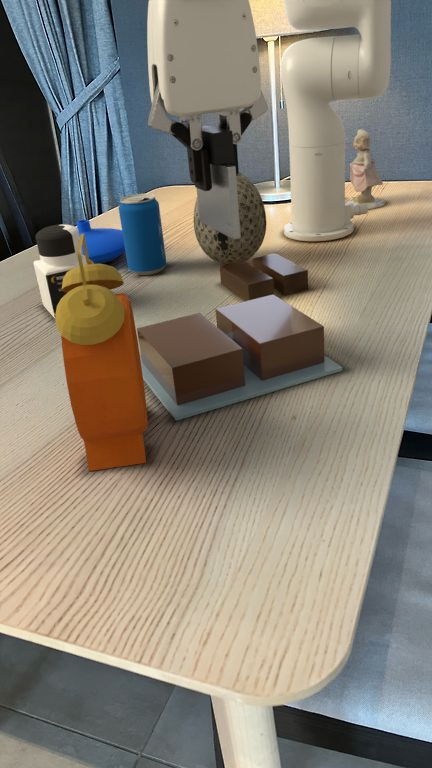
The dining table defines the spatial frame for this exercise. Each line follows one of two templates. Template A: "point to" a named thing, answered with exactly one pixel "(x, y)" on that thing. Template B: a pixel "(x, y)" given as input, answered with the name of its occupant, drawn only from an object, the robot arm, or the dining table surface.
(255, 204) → the decorative egg
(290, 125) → the robot arm
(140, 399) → the alarm clock
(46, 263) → the medicine bottle
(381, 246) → the dining table surface
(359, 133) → the figurine
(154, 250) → the beverage can
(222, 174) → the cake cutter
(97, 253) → the vase
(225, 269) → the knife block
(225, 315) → the cake
